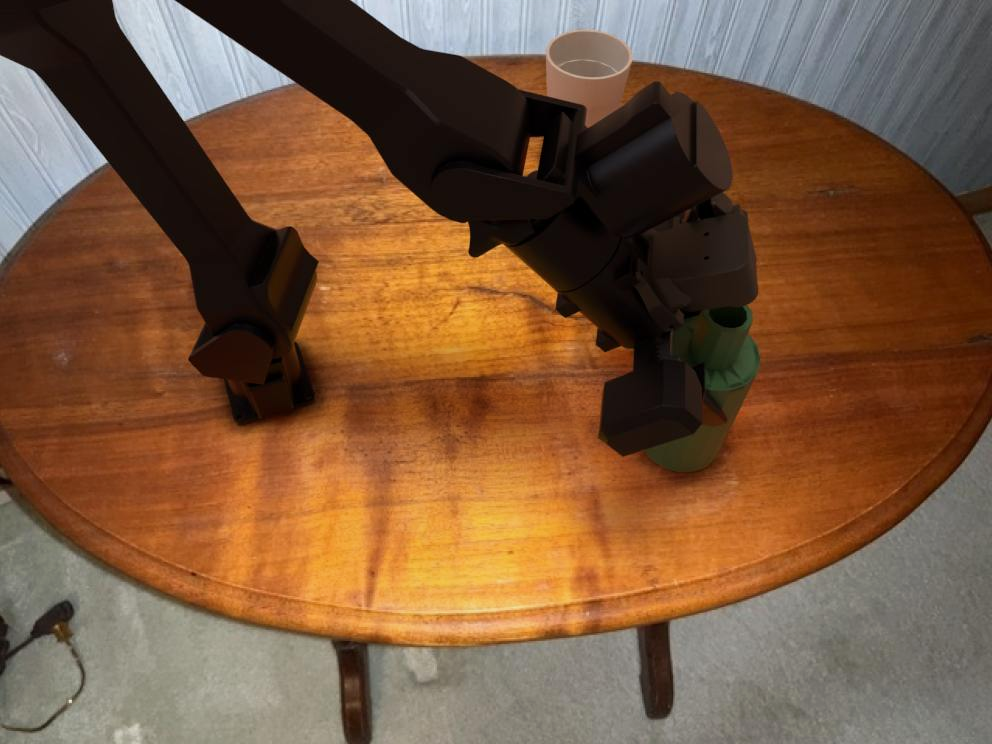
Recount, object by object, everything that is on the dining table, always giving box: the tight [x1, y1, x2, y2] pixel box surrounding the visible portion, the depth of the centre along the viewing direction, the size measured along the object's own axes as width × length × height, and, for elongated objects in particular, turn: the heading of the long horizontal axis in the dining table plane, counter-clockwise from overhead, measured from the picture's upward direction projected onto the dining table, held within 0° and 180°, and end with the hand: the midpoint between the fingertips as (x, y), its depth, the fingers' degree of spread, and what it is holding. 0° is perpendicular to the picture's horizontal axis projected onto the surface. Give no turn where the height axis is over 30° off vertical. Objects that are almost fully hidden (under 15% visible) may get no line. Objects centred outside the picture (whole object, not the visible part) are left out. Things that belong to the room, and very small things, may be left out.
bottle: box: [643, 304, 762, 473], centre depth 59 cm, size 6×6×15 cm
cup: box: [545, 29, 634, 128], centre depth 80 cm, size 8×8×12 cm
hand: (720, 383), depth 58 cm, fingers closed on bottle, 6 cm apart
